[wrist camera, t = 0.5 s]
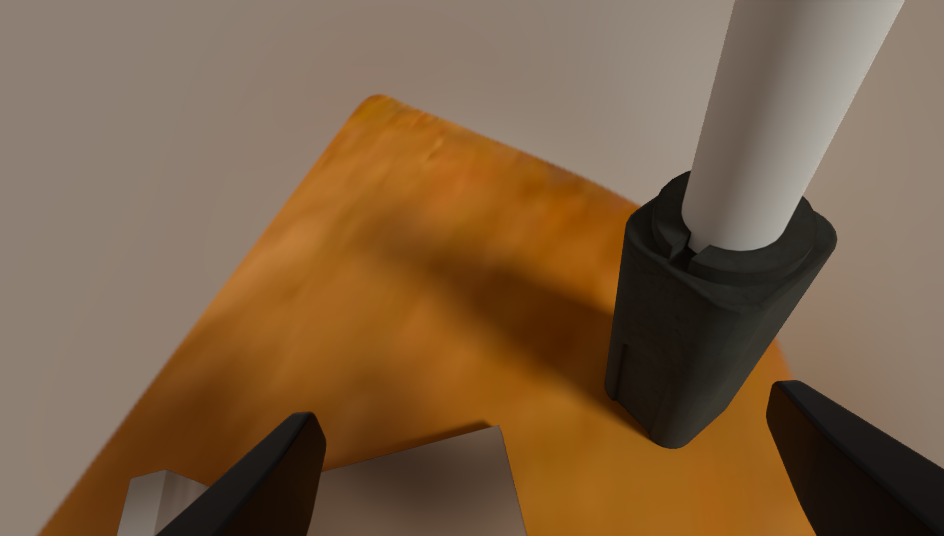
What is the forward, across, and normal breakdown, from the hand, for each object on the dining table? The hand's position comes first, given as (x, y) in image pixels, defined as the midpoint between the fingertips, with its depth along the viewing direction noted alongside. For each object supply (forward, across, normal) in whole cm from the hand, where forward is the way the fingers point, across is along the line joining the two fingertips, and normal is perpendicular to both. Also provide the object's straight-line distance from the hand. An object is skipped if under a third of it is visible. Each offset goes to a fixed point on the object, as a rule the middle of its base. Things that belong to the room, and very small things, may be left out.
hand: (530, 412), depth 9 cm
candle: (+12, -7, +12) cm, 19 cm away
